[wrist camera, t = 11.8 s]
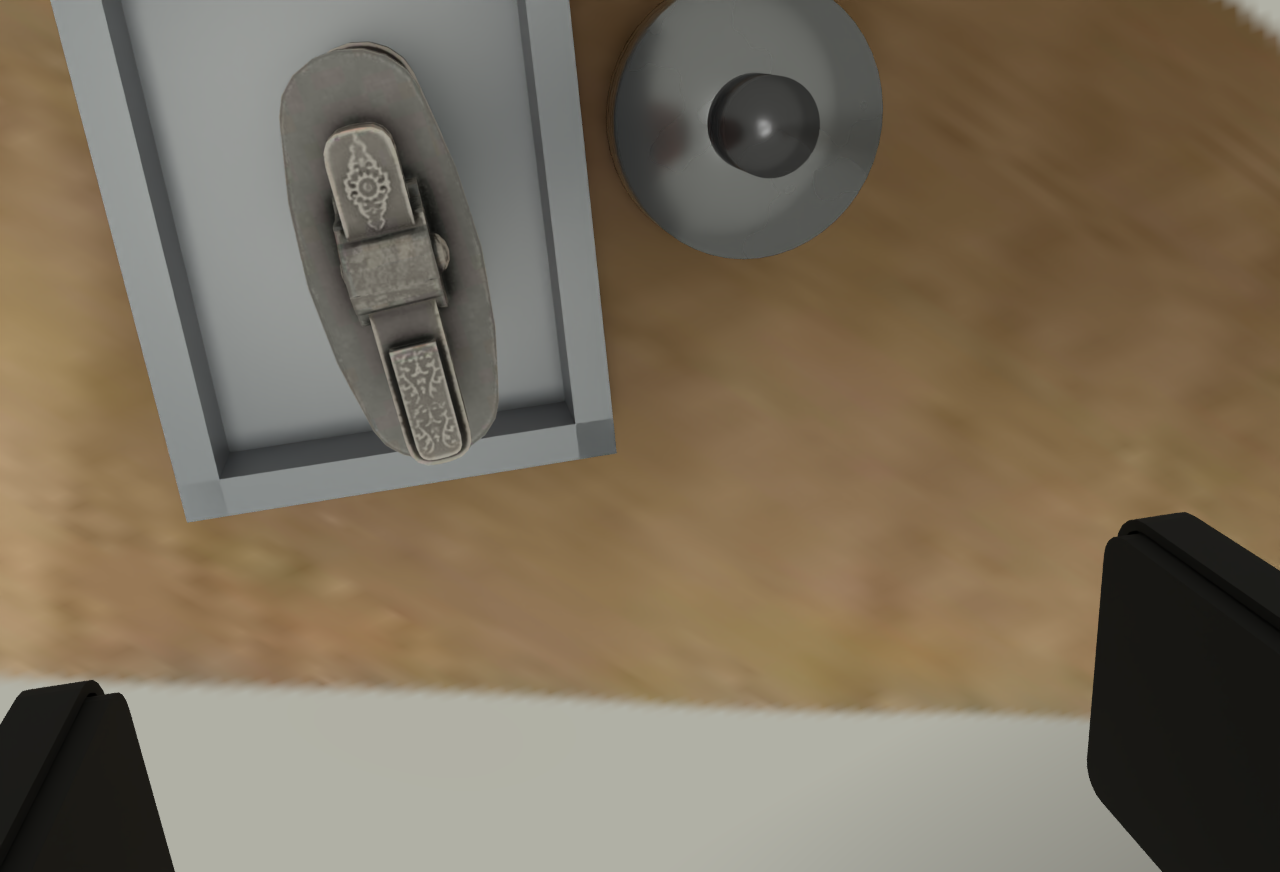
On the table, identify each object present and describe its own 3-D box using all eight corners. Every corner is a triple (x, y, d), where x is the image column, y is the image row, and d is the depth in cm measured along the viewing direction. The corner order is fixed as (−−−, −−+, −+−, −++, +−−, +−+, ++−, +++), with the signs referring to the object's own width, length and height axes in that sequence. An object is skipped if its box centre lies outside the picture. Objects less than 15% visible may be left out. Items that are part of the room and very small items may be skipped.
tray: (541, -119, 27) (555, -132, 25) (600, 422, 32) (616, 452, 30) (59, -81, 25) (26, -91, 23) (202, 484, 30) (187, 522, 28)
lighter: (279, 56, 27) (220, 76, 17) (419, 27, 27) (433, 32, 18) (372, 371, 30) (363, 529, 21) (497, 341, 30) (543, 482, 21)
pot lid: (856, -36, 29) (908, -43, 26) (861, 230, 32) (909, 252, 29) (592, -12, 28) (616, -16, 25) (619, 263, 31) (643, 289, 28)
